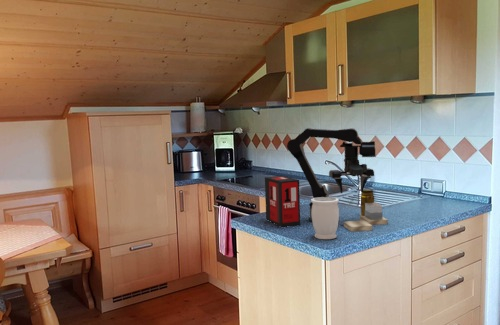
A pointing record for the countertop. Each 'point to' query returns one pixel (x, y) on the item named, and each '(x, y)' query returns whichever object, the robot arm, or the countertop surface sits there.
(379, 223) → the stand
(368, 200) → the condiment
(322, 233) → the jar
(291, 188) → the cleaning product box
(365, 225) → the stand
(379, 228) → the countertop surface
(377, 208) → the block
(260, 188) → the countertop surface
